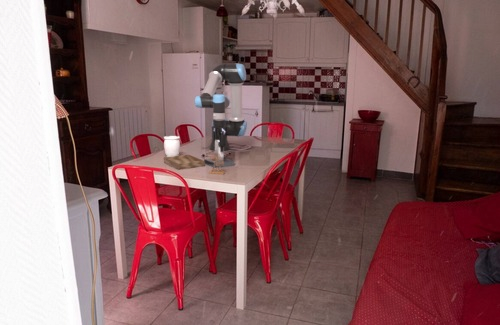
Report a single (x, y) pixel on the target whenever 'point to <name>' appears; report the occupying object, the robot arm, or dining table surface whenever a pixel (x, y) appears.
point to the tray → (184, 162)
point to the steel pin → (218, 150)
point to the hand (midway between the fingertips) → (219, 155)
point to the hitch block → (226, 162)
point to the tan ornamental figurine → (217, 167)
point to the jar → (172, 145)
